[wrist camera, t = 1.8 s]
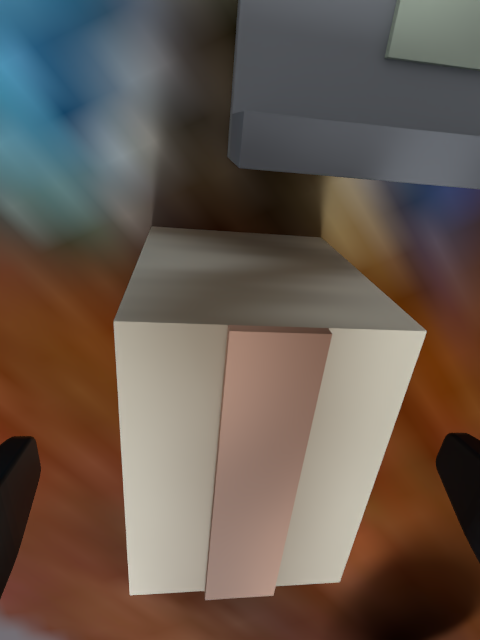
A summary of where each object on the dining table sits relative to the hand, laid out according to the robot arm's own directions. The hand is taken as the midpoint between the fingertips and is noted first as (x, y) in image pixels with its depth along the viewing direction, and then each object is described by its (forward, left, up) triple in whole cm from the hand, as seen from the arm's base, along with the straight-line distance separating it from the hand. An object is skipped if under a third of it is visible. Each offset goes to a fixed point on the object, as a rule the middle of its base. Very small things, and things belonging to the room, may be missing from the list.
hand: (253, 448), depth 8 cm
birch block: (0, 0, -5) cm, 5 cm away
